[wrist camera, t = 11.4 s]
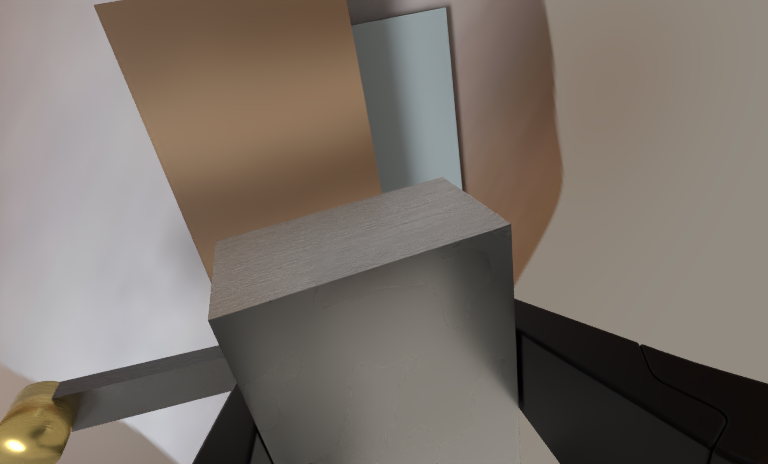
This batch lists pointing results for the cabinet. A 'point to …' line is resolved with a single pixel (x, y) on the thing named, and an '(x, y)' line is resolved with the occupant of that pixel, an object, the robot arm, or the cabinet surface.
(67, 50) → the cabinet surface
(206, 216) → the body
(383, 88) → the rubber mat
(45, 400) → the lever
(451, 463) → the grey block
